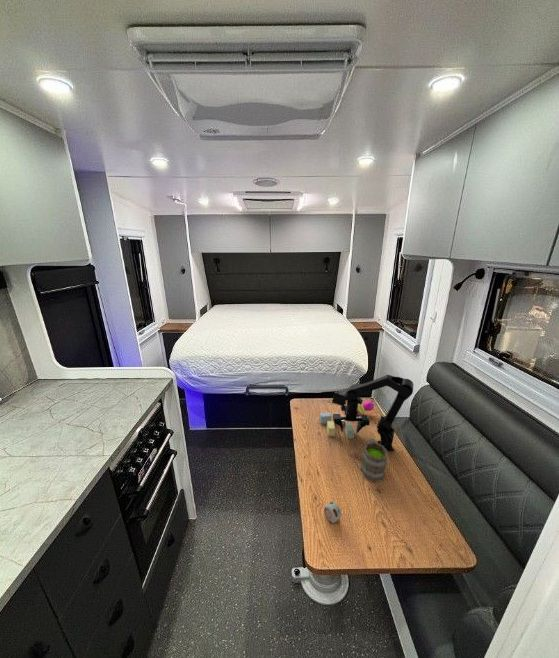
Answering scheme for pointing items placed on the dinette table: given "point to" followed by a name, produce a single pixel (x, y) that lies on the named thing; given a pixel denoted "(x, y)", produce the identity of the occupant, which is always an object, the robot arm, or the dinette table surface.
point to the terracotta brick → (341, 416)
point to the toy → (365, 407)
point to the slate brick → (325, 417)
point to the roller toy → (332, 512)
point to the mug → (374, 461)
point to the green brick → (349, 430)
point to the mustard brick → (330, 428)
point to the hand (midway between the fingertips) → (349, 432)
